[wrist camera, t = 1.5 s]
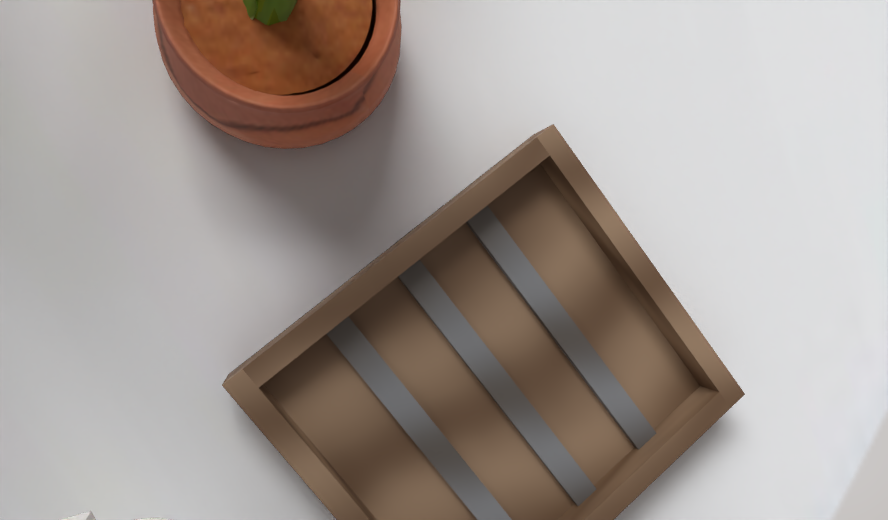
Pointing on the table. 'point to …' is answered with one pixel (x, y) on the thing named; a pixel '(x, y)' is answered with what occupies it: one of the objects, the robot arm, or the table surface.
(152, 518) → the wineglass
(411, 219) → the table surface
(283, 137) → the potted flower
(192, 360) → the table surface
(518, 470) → the wooden tray
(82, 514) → the robot arm
